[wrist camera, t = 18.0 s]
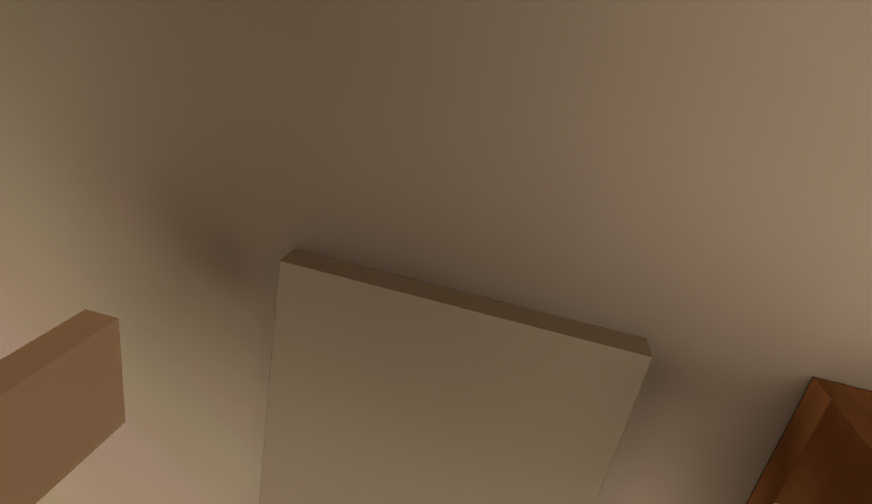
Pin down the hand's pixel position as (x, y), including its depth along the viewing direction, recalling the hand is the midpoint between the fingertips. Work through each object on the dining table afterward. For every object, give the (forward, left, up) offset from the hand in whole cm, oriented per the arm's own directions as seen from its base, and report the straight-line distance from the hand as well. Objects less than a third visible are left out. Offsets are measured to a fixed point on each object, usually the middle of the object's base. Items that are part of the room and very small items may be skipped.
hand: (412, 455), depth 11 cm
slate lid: (+7, 0, -6) cm, 9 cm away
